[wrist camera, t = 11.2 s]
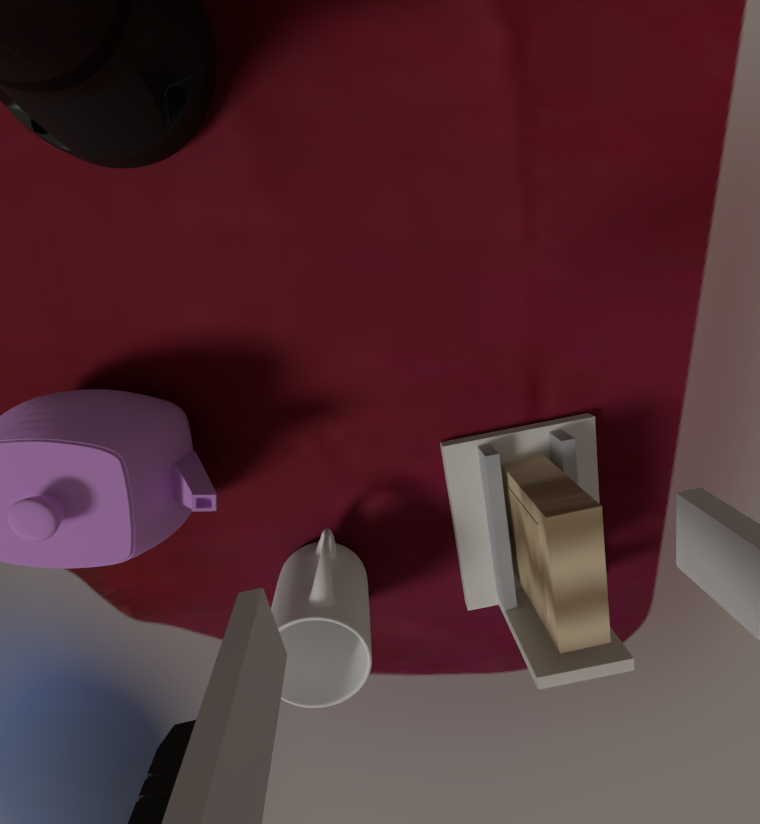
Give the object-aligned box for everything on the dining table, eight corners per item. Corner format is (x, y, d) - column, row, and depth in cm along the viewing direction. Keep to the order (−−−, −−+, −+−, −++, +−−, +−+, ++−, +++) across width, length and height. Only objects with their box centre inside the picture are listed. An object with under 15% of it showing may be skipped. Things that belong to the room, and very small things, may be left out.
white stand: (440, 442, 41) (471, 497, 30) (588, 412, 41) (672, 457, 30) (465, 602, 46) (500, 699, 35) (597, 576, 46) (672, 664, 35)
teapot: (26, 509, 40) (-116, 607, 28) (3, 375, 37) (-170, 418, 25) (250, 514, 42) (208, 608, 29) (247, 385, 38) (197, 431, 26)
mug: (375, 509, 42) (383, 581, 32) (362, 614, 45) (365, 710, 35) (284, 503, 42) (262, 574, 31) (278, 610, 45) (256, 706, 34)
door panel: (498, 463, 40) (544, 518, 31) (543, 453, 40) (603, 505, 31) (513, 573, 44) (558, 653, 34) (554, 564, 44) (611, 642, 34)
